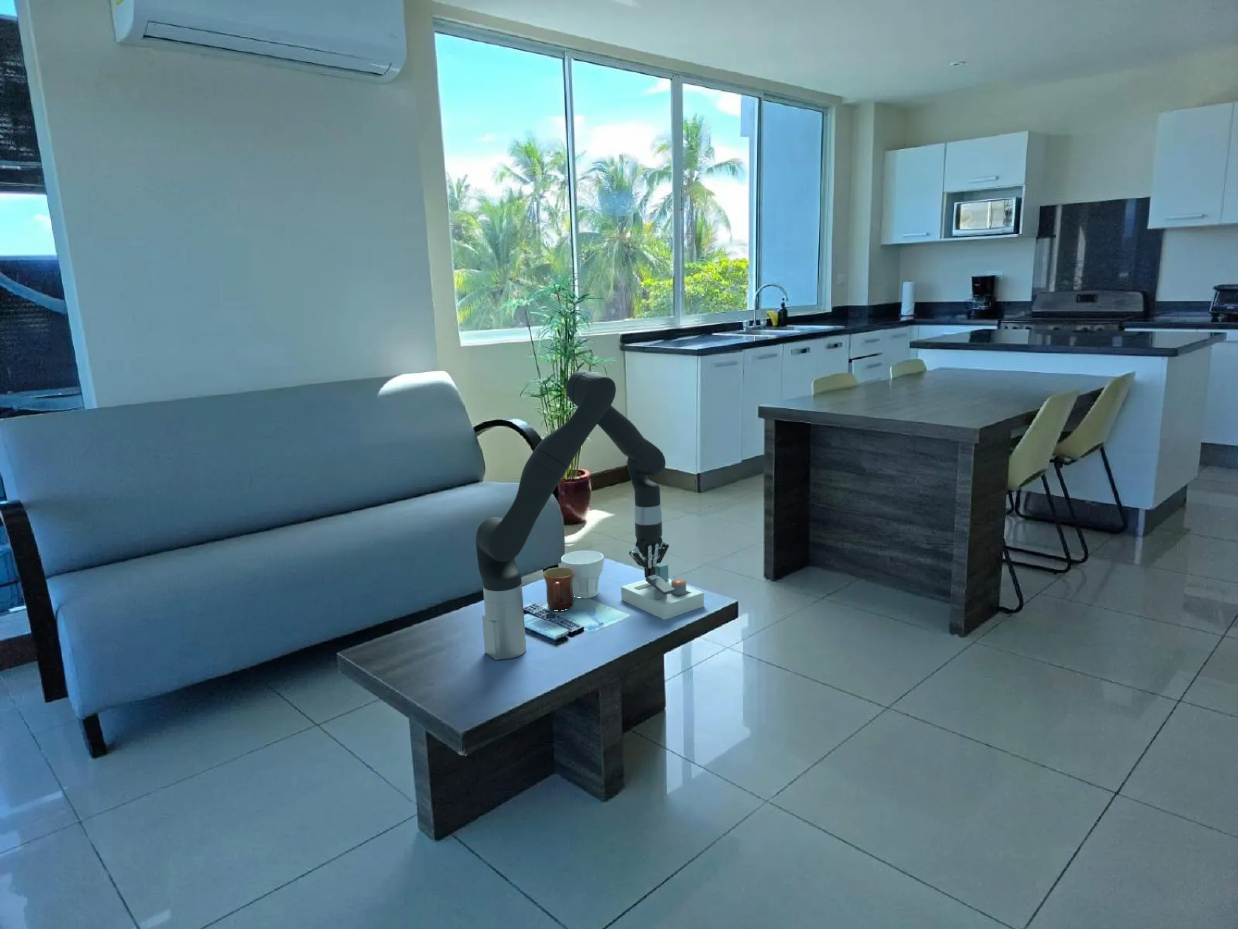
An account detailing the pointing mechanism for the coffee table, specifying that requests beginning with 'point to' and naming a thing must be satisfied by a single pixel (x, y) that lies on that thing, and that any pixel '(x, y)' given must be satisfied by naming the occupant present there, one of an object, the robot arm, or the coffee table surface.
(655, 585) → the rocker
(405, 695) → the coffee table surface
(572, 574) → the mug
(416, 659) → the coffee table surface
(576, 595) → the cup
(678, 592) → the push button
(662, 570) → the slider knob
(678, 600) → the panel
